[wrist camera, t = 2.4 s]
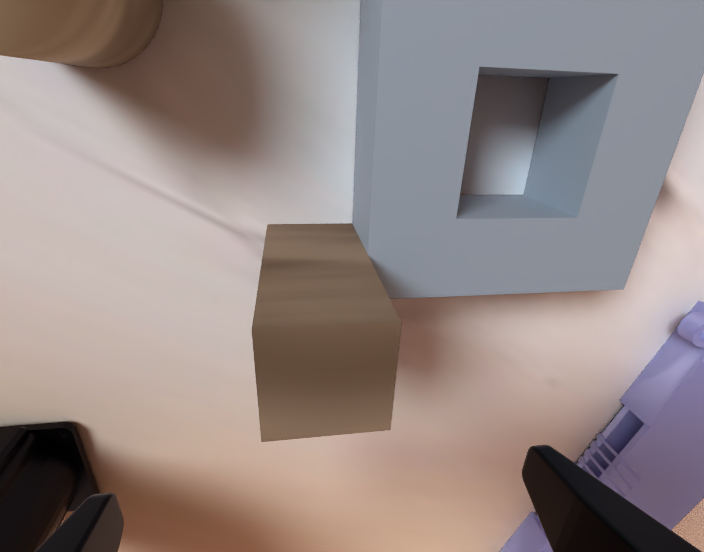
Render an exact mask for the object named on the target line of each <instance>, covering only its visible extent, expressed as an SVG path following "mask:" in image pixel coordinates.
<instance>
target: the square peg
mask: <svg viewBox="0 0 704 552" xmlns="http://www.w3.org/2000/svg"><path fill="white" fill-rule="evenodd" d="M400 332H401V320H400V318H399V316H398V314H397V312H396V310H395V308H394V306H393V304H392V302H391V300H390V298H389V296H388V294H387V292H386V290H385V288H384V286H383V284H382V282H381V280H380V278H379V276H378V274H377V272H376V270H375V268H374V266H373V264H372V262H371V260H370V258H369V256H368V254H367V252H366V250H365V248H364V246H363V244H362V242H361V240H360V238H359V236H358V234H357V232H356V230H355V228H354V226H353V224H270V225H267V231H266V238H265V245H264V251H263V258H262V265H261V271H260V278H259V285H258V291H257V298H256V305H255V311H254V318H253V325H252V338H253V350H254V361H255V373H256V384H257V396H258V407H259V419H260V430H261V442H267V441H277V440H288V439H299V438H309V437H320V436H331V435H341V434H352V433H363V432H373V431H384V430H390V428H391V419H392V409H393V400H394V390H395V380H396V371H397V361H398V351H399V342H400Z"/></svg>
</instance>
